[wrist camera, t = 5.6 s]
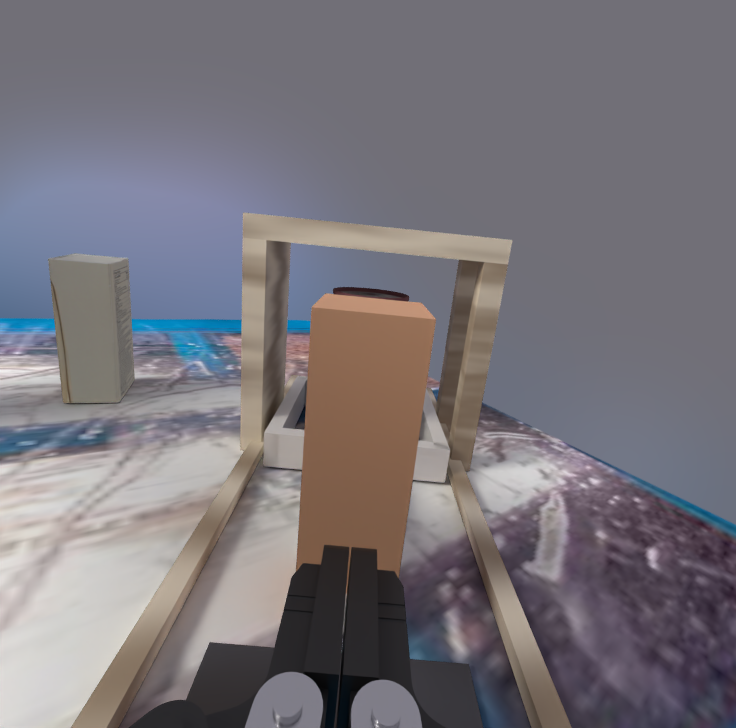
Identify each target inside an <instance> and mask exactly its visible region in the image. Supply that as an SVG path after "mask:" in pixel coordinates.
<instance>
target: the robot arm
mask: <svg viewBox="0 0 736 728" xmlns="http://www.w3.org/2000/svg"><path fill="white" fill-rule="evenodd" d="M348 560H349V547H346V546H336V545H324V549H323V555H322V561H321V565H320V564H309V563H303V564H302V565H301V566H300V567H299V569H298V570H297V571H296V572H295V574H294V575H293V576H292V578H291V582H290V586H289V591H288V595H287V599H286V603H285V607H284V612H283V615H282V619H281V623H280V627H279V631H278V635H277V640H276V644H275V648H274V652H273V656H272V660H271V664H270V668H269V672H268V675H267V677H266V679H265V681H264V683H263V684H262V686H261V687H260V689H259V690H258V691H257V692H256V693H255V694H254V695H253V696H252V697H251V698H250V699H248V700H247V701H245V702H244V703H242V704H240V705H238V706H236V707H233V708H230V709H227V710H223V711H220V712H216V713H212V714H209V715H204V713H203V711H202V710H201V709H200V707H199V706H197V705H196V704H194V703H192V702H190V701H185V700H174V701H170V702H166V703H164V704H161V705H159V706H157V707H156V708H154V709H152V710H151V711H150V712H148V713H147V714H146V715H144V716H143V717H142V718H141V719H139V720H138V721H137V722H135V723H134V724H133V725H132V726H130V727H129V728H334V722H335V713H336V703H337V694H338V685H339V697H338V710H337V723H336V728H446V727H444V726H442V725H441V724H439V723H437V722H436V721H435V720H433V719H432V718H431V717H430V716H429V715H428V714H427V713H426V712H425V711H424V710H423V708H422V707H421V705H420V704H419V702H418V700H417V698H416V696H415V694H414V690H413V686H412V679H411V668H410V657H409V645H408V634H407V624H406V611H405V600H404V589H403V586H402V584H401V582H400V580H399V578H398V577H397V575H396V573H395V571H388V570H377V549H370V548H359V547H352V548H351V557H350V567H349V576H348V586H347V573H348ZM346 586H347V596H346ZM345 599H346V606H345ZM344 611H345V619H344ZM343 624H344V632H343ZM342 637H343V645H342ZM341 650H342V658H341ZM340 663H341V671H340ZM339 675H340V684H339Z"/></svg>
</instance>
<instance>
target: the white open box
mask: <svg viewBox="0 0 736 728" xmlns="http://www.w3.org/2000/svg"><path fill="white" fill-rule="evenodd" d="M435 323H436V319H435V318H434V317H433V316H432V314H431V313H430V312H429V311H428V310H427V309H426V307H425V306H424V305H423V304H422V303H417V302H407V301H396V300H386V299H376V298H366V297H356V296H346V295H336V294H325V295H324V296H323V297H322V298H321V299H320V300H318V301H317V303H315V304H314V305H313V307H312V311H311V328H310V345H309V362H308V377H305V376H297V377H296V379H295V381H294V382H293V384H292V386H291V387H290V389H289V391H288V393H287V394H286V396H285V398H284V399H283V401H282V403H281V405H280V406H279V408H278V410H277V411H276V413H275V415H274V417H273V418H272V420H271V422H270V423H269V425H268V427H267V429H266V430H265V432H264V452H263V466H267V467H278V468H289V469H300V470H302V480H301V497H300V514H299V531H298V548H297V565H296V571H297V570H298V569H299V567H300V566H301V565H302V564H303V563H309V564H320V565H321V561H322V555H323V549H324V545H336V546H346V547H349V560H348V573H347V586H348V576H349V567H350V557H351V548H352V547H359V548H370V549H377V570H388V571H395V573H396V575H397V577H398V578H399V572H400V565H401V558H402V551H403V544H404V537H405V530H406V523H407V516H408V510H409V503H410V496H411V489H412V482H413V480H420V481H431V482H442V483H445V478H446V472H447V466H448V461H449V455H450V448H449V446H448V443H447V440H446V438H445V435H444V432H443V430H442V427H441V425H440V422H439V419H438V417H437V414H436V412H435V409H434V406H433V404H432V401H431V399H430V396H429V393H428V391H427V388H426V385H427V378H428V371H429V364H430V358H431V351H432V343H433V337H434V330H435ZM304 405H306V412H305V429H304V430H301V429H294V428H295V426H296V424H297V421H298V419H299V417H300V414H301V412H302V410H303V407H304ZM419 438H420V441H418V440H419ZM347 586H346V596H347ZM345 606H346V599H345ZM344 619H345V611H344ZM343 632H344V624H343Z"/></svg>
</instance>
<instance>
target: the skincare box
mask: <svg viewBox="0 0 736 728" xmlns="http://www.w3.org/2000/svg"><path fill="white" fill-rule="evenodd" d="M48 261H49V271H50V280H51V291H52V301H53V310H54V320H55V330H56V340H57V350H58V359H59V369H60V378H61V388H62V396H63V403H118V402H120V400H121V399H122V398H123V396H124V395H125V394H126V392H127V391H128V389H129V388H130V386H131V385H132V383H133V381H134V360H133V340H132V322H131V302H130V286H129V285H130V283H129V264H128V258H118V257H107V256H96V255H85V254H76V253H75V254H70V255H65V256H59V257H55V258H49V259H48Z"/></svg>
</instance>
